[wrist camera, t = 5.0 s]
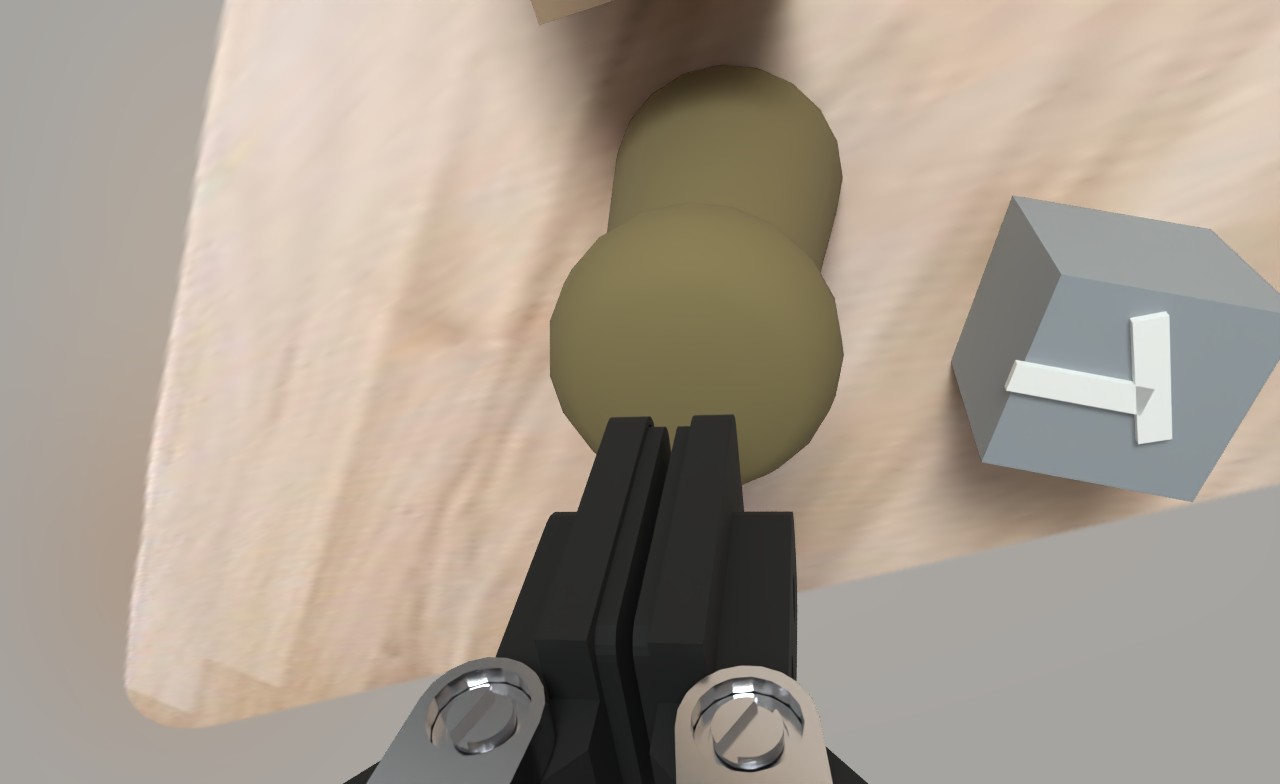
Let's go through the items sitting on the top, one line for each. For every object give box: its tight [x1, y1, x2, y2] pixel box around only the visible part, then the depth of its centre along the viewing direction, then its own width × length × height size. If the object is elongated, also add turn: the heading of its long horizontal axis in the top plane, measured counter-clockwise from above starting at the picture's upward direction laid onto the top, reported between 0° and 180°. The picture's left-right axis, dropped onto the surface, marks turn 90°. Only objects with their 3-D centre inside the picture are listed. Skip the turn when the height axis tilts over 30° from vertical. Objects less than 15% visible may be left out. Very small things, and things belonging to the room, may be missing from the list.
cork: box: [550, 65, 844, 484], centre depth 19 cm, size 6×6×11 cm
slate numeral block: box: [951, 196, 1280, 502], centre depth 22 cm, size 5×5×5 cm
